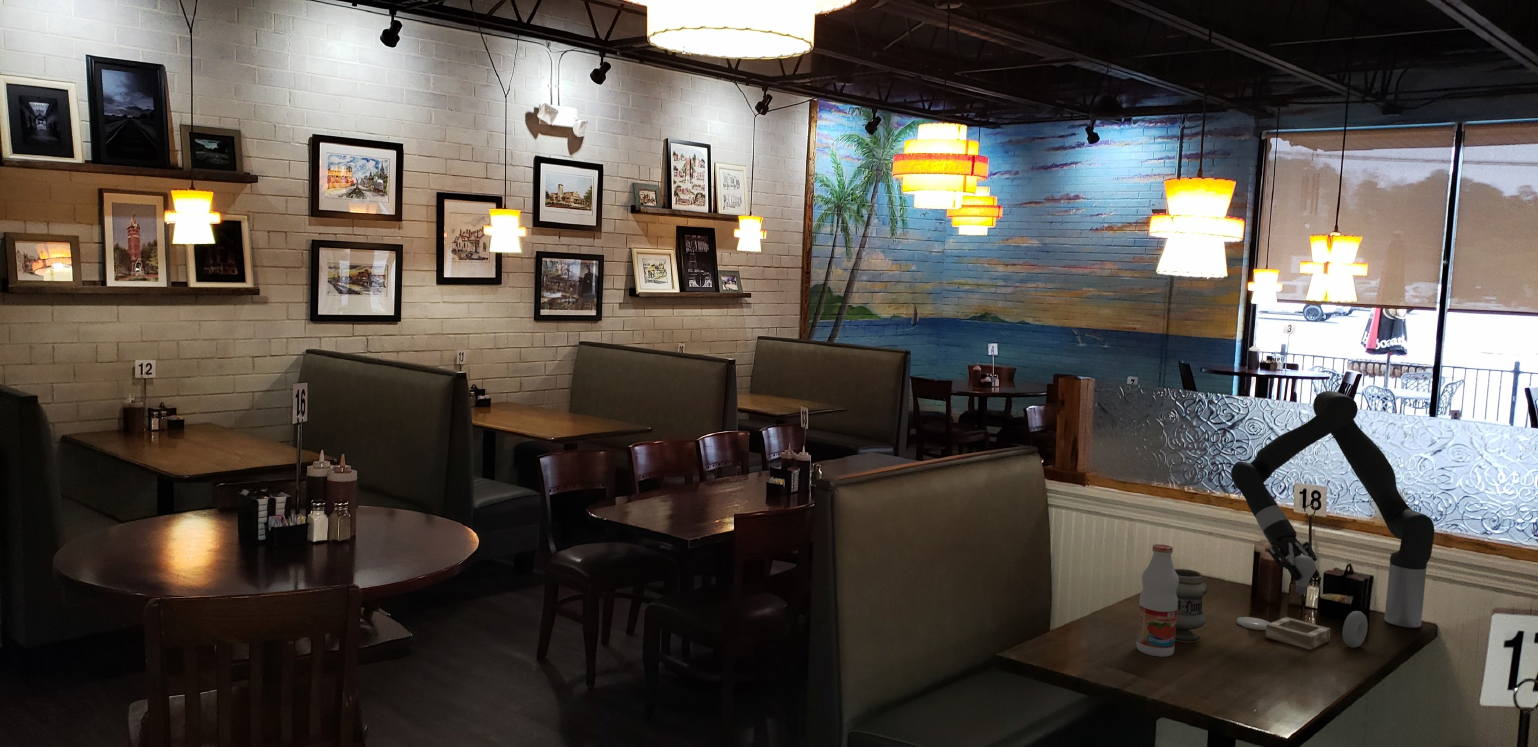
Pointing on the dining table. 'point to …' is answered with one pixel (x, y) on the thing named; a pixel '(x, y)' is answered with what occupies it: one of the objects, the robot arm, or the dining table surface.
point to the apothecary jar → (1189, 605)
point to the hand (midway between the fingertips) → (1307, 578)
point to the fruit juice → (1158, 605)
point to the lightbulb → (1304, 572)
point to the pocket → (1298, 633)
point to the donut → (1355, 629)
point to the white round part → (1252, 623)
